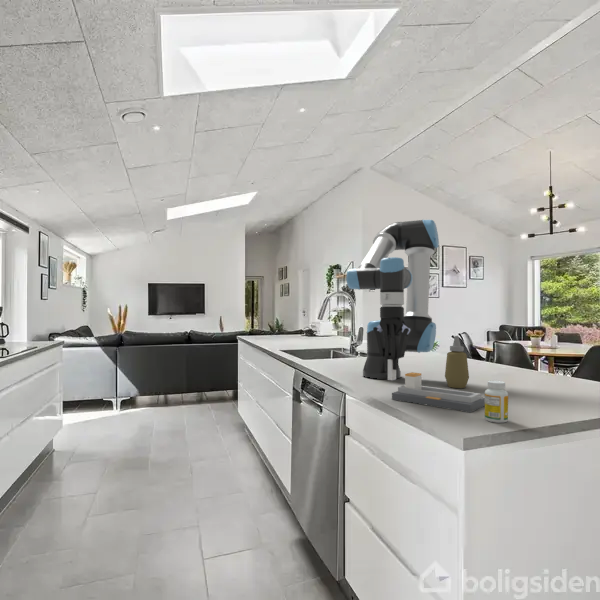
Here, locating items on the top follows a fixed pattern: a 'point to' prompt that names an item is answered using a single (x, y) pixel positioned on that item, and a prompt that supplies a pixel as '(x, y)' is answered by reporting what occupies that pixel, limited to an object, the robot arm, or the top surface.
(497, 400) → the supplement bottle
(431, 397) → the console board
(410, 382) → the fader tab
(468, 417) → the top surface
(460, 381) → the squeeze bottle
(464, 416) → the top surface
